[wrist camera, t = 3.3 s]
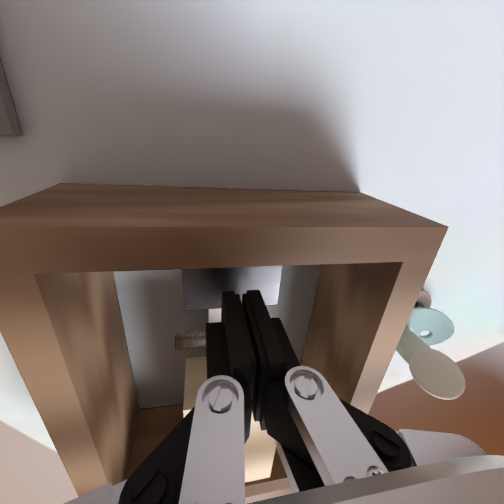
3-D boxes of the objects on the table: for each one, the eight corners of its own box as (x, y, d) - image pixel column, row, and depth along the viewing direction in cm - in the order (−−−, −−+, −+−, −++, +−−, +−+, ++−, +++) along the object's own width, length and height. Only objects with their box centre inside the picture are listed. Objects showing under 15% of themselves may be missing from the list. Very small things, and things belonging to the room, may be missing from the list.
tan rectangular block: (185, 358, 14) (183, 410, 12) (270, 349, 15) (285, 395, 13) (190, 439, 18) (189, 494, 15) (259, 427, 19) (269, 477, 16)
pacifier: (344, 305, 19) (353, 356, 22) (402, 373, 14) (404, 431, 16) (430, 273, 20) (428, 327, 22) (522, 326, 14) (504, 390, 17)
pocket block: (60, 183, 12) (-49, 227, 7) (360, 192, 15) (448, 226, 10) (122, 424, 20) (94, 530, 15) (308, 397, 23) (340, 476, 18)
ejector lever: (169, 239, 12) (166, 249, 11) (289, 238, 13) (296, 246, 12) (184, 429, 18) (183, 445, 17) (263, 416, 19) (267, 431, 18)
